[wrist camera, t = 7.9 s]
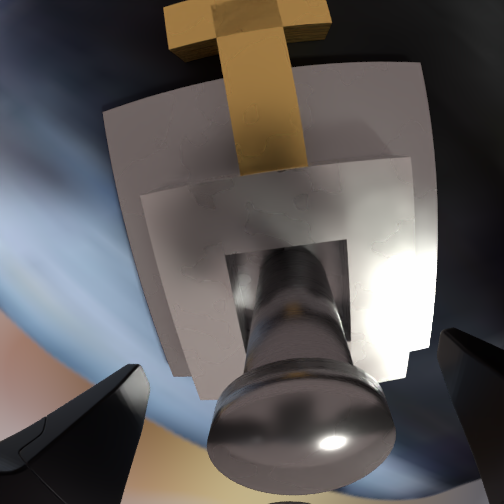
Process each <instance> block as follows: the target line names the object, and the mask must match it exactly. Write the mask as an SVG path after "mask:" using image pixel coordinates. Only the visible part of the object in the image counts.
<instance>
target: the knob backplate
mask: <svg viewBox="0 0 504 504" xmlns="http://www.w3.org/2000/svg"><path fill="white" fill-rule="evenodd" d="M163 9H164V17H165V25H166V32H167V39H168V46H169V50H170V51H171V52H173V53H174V54H175V55H177V56H178V57H179V58H180V59H182V60H183V61H184V62H188V61H192V60H196V59H200V58H205V57H209V56H214V55H218V54H219V56H220V61H221V67H222V73H223V79H218V80H213V81H208V82H204V83H200V84H195V85H191V86H187V87H183V88H179V89H175V90H172V91H168V92H164V93H161V94H157V95H154V96H151V97H147V98H144V99H141V100H137V101H134V102H131V103H128V104H125V105H122V106H119V107H116V108H113V109H111V110H108V111H105V112H103V118H104V124H105V130H106V136H107V142H108V148H109V153H110V159H111V164H112V169H113V174H114V179H115V183H116V188H117V193H118V197H119V201H120V206H121V210H122V214H123V218H124V222H125V226H126V230H127V234H128V238H129V242H130V246H131V249H132V253H133V257H134V260H135V264H136V267H137V271H138V274H139V278H140V281H141V284H142V287H143V291H144V294H145V297H146V300H147V303H148V307H149V310H150V313H151V316H152V319H153V322H154V325H155V328H156V330H157V333H158V336H159V339H160V342H161V345H162V347H163V350H164V353H165V356H166V358H167V361H168V364H169V366H170V369H171V371H172V374H173V377H186V376H192V378H193V381H194V384H195V386H196V389H197V392H198V394H199V397H200V400H218V399H219V397H220V395H221V394H222V392H223V391H224V390H225V389H226V387H227V386H228V385H229V384H230V383H232V382H233V381H234V380H235V379H236V378H238V377H240V376H241V375H243V373H244V366H245V360H246V354H247V348H248V341H249V335H250V329H251V323H252V316H253V310H254V303H255V297H256V291H257V284H258V278H259V273H260V270H261V268H262V266H263V264H264V263H265V262H266V261H267V259H269V258H270V257H271V256H272V255H274V254H276V253H278V252H280V251H283V250H288V249H298V250H303V251H306V252H308V253H310V254H312V255H313V256H315V257H316V258H317V259H318V260H319V261H320V262H321V264H322V265H323V267H324V270H325V273H326V276H327V279H328V282H329V285H330V288H331V291H332V294H333V298H334V301H335V304H336V307H337V310H338V314H339V317H340V320H341V324H342V327H343V330H344V334H345V337H346V340H347V344H348V347H349V351H350V354H351V358H352V361H353V365H354V366H356V367H358V368H360V369H362V370H364V371H365V372H367V373H368V374H370V375H371V376H372V377H373V378H374V379H375V380H376V381H377V382H378V383H379V382H385V381H390V380H394V379H399V378H404V377H405V376H406V369H407V362H408V354H409V351H414V350H418V349H423V348H427V347H429V340H430V333H431V326H432V317H433V308H434V297H435V285H436V269H437V242H438V211H437V183H436V168H435V155H434V145H433V136H432V128H431V120H430V113H429V106H428V100H427V94H426V89H425V83H424V78H423V73H422V68H421V64H420V63H416V62H353V63H334V64H321V65H309V66H300V67H291V63H290V58H289V53H288V48H287V44H286V43H293V42H303V41H314V40H324V39H325V37H326V35H327V32H328V30H329V28H330V26H331V24H332V21H331V17H330V13H329V9H328V5H327V2H326V0H187V1H184V2H180V3H177V4H173V5H170V6H167V7H163Z"/></svg>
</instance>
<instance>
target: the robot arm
mask: <svg viewBox="0 0 504 504" xmlns="http://www.w3.org/2000/svg"><path fill="white" fill-rule="evenodd" d="M437 358H438V362H439V365H440V368H441V371H442V374H443V377H444V380H445V383H446V386H447V389H448V393H449V396H450V399H451V401H452V404H453V406H454V409H455V411H456V413H457V416H458V418H459V420H460V423H461V425H462V428H463V430H464V433H465V435H466V438H467V440H468V443H469V445H470V448H471V451H472V453H473V456H474V459H475V461H476V464H477V467H478V470H479V473H480V476H481V479H482V481H483V485H484V488H485V491H486V494H487V497H488V500H489V504H504V350H503V349H501V348H498V347H496V346H494V345H492V344H490V343H487V342H485V341H483V340H481V339H479V338H476V337H474V336H472V335H470V334H467V333H465V332H463V331H461V330H458V329H456V328H449V329H445V330H443V331H442V332H441V334H440V339H439V345H438V351H437ZM149 393H150V385H149V382H148V380H147V377H146V375H145V373H144V371H143V368H142V367H141V365H139V364H127V365H125V366H124V367H122V368H121V369H119V370H118V371H116V372H115V373H113V374H112V375H110V376H109V377H107V378H105V379H104V380H102V381H101V382H99V383H98V384H96V385H95V386H93V387H91V388H90V389H88V390H87V391H85V392H84V393H82V394H80V395H79V396H77V397H76V398H74V399H73V400H71V401H69V402H68V403H66V404H65V405H63V406H62V407H60V408H58V409H57V410H55V411H54V412H52V413H50V414H49V415H47V417H44V418H42V419H41V420H39V421H37V422H36V423H34V424H32V425H31V426H29V427H27V428H25V429H23V430H22V431H20V432H18V433H16V434H14V435H12V436H10V437H8V438H6V439H4V440H2V441H0V504H120V503H121V499H122V495H123V492H124V489H125V485H126V482H127V478H128V475H129V472H130V468H131V465H132V462H133V458H134V455H135V452H136V449H137V445H138V442H139V439H140V436H141V432H142V428H143V424H144V419H145V413H146V408H147V403H148V398H149Z"/></svg>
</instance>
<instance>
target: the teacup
mask: <svg viewBox="0 0 504 504" xmlns="http://www.w3.org/2000/svg"><path fill="white" fill-rule="evenodd" d="M270 504H309V503H303V502H291V501H289V502H275V503H270Z"/></svg>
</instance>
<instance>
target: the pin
mask: <svg viewBox="0 0 504 504" xmlns="http://www.w3.org/2000/svg"><path fill="white" fill-rule="evenodd" d="M395 437H396V431H395V426H394V423H393V420H392V416H391V413H390V410H389V407H388V404H387V401H386V398H385V395H384V393H383V390H382V388H381V387H380V385H379V383H378V382H377V381H376V380H375V379H374V378H373V377H372V376H371V375H370V374H368V373H367V372H365V371H364V370H362V369H360V368H358V367H356V366H354V365H353V361H352V358H351V354H350V351H349V347H348V344H347V340H346V337H345V334H344V330H343V327H342V324H341V320H340V317H339V314H338V310H337V307H336V304H335V301H334V298H333V294H332V291H331V288H330V285H329V282H328V279H327V276H326V273H325V270H324V267H323V265H322V264H321V262H320V261H319V260H318V259H317V258H316V257H315V256H313V255H312V254H310V253H308V252H306V251H303V250H298V249H288V250H283V251H280V252H278V253H276V254H274V255H272V256H271V257H270V258H269V259H267V261H266V262H265V263H264V264H263V266H262V268H261V270H260V273H259V278H258V284H257V291H256V297H255V303H254V310H253V316H252V323H251V329H250V335H249V341H248V348H247V354H246V360H245V366H244V373H243V375H241V376H240V377H238V378H236V379H235V380H234V381H233V382H232V383H230V384H229V385H228V386H227V387H226V389H225V390H224V391H223V392H222V394H221V395H220V397H219V399H218V401H217V404H216V407H215V411H214V415H213V419H212V424H211V428H210V432H209V436H208V441H207V451H208V455H209V457H210V459H211V461H212V463H213V464H214V466H215V467H216V468H217V469H218V470H219V471H220V472H221V473H222V474H223V475H225V476H226V477H228V478H229V479H230V480H232V481H234V482H236V483H238V484H240V485H242V486H245V487H247V488H250V489H253V490H257V491H261V492H266V493H271V494H279V495H307V494H315V493H321V492H326V491H330V490H334V489H338V488H341V487H343V486H346V485H349V484H351V483H353V482H355V481H357V480H359V479H361V478H363V477H365V476H366V475H368V474H369V473H371V472H372V471H373V470H375V469H376V468H377V467H378V466H379V465H380V464H381V463H382V462H383V461H384V460H385V459H386V458H387V456H388V455H389V454H390V452H391V450H392V448H393V446H394V443H395Z"/></svg>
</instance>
